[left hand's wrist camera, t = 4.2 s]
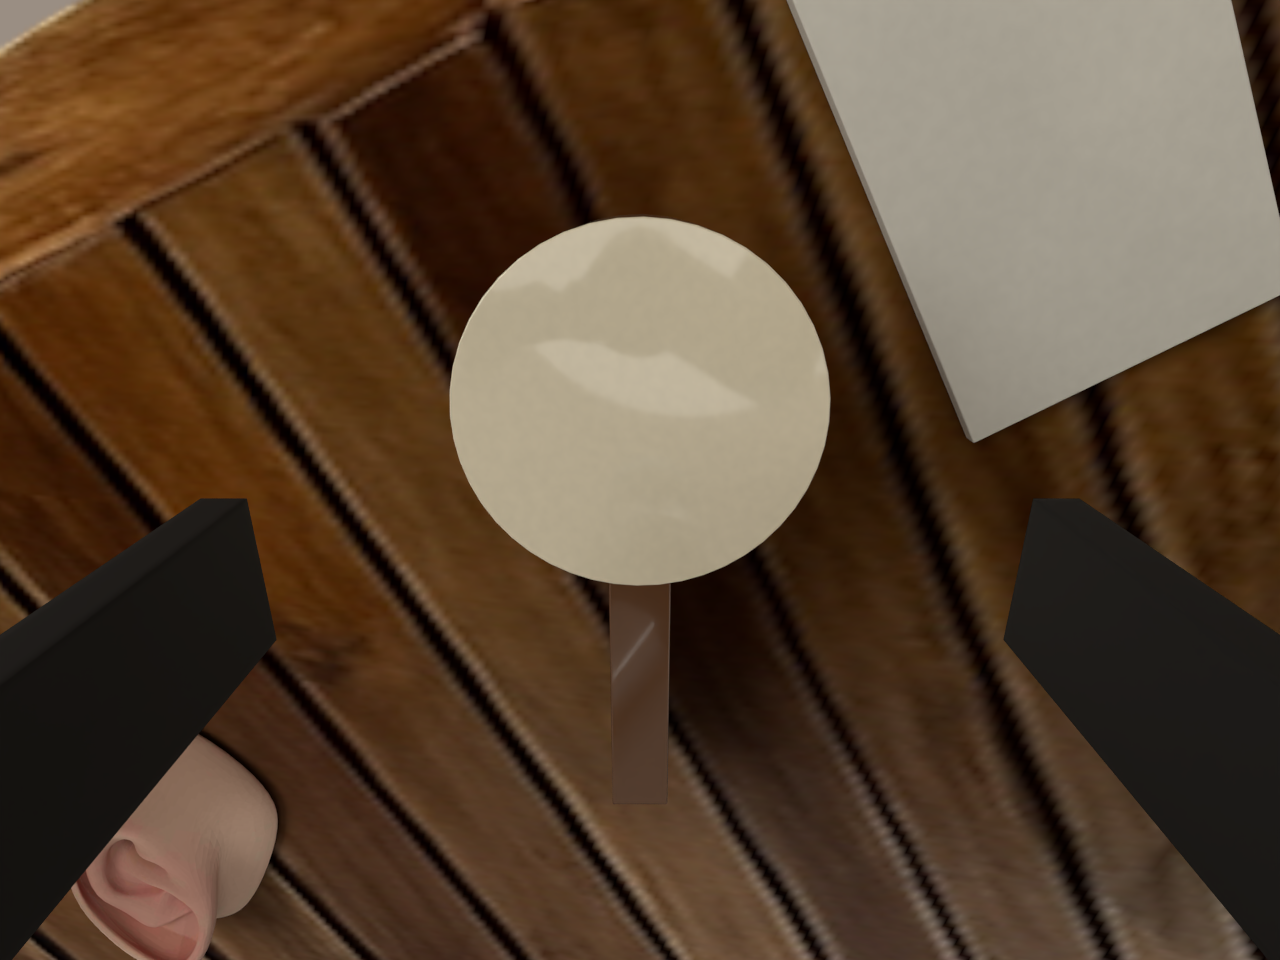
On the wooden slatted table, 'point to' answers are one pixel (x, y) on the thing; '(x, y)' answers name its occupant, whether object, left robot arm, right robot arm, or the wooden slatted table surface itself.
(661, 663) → the orange handled cylinder
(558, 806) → the wooden slatted table surface
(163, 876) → the anatomical model
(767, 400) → the cap
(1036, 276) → the grey mat
